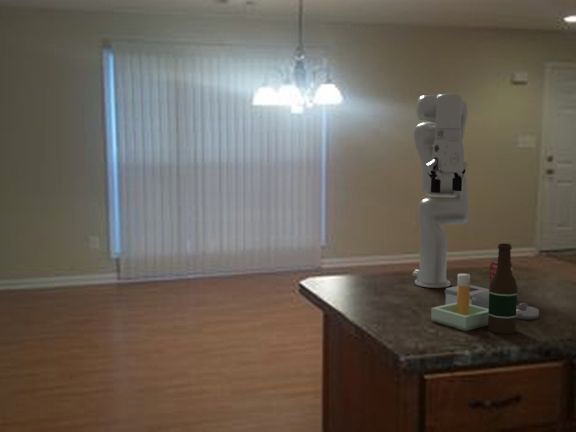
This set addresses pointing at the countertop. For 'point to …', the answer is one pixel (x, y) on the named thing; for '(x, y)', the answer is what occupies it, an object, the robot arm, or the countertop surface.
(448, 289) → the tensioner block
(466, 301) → the pin
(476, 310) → the tray
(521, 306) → the metal pot lid
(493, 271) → the soda can
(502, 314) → the beer bottle
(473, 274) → the countertop surface
